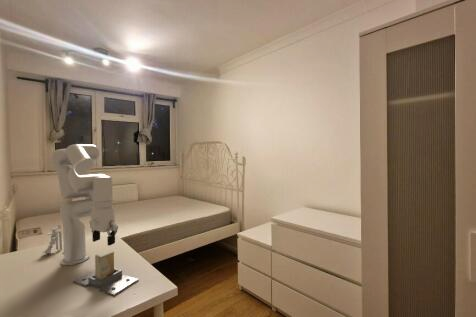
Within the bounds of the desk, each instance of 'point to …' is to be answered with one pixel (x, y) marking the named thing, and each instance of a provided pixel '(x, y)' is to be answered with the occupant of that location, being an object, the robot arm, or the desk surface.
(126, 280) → the hinge base
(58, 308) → the desk surface
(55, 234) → the clamp
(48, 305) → the desk surface
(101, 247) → the desk surface
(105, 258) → the skincare box
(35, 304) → the desk surface
